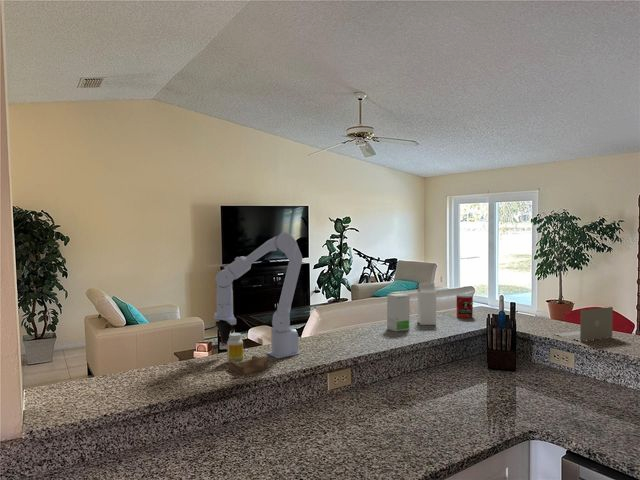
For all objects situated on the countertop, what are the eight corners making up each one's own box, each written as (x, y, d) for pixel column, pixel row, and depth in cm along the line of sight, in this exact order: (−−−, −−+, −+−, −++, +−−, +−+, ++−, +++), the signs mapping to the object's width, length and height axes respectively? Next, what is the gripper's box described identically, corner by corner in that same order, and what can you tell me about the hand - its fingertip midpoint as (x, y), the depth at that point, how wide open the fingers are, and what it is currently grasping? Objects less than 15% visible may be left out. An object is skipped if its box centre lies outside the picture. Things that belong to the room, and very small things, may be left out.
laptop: (584, 331, 195) (585, 301, 194) (612, 338, 183) (613, 307, 182) (553, 335, 188) (554, 304, 188) (580, 343, 176) (581, 310, 176)
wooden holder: (255, 363, 153) (254, 351, 153) (267, 369, 147) (266, 357, 147) (229, 368, 148) (229, 356, 148) (240, 375, 141) (240, 362, 141)
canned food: (457, 318, 221) (457, 296, 221) (455, 315, 229) (455, 293, 229) (473, 318, 220) (474, 296, 220) (471, 315, 228) (471, 293, 228)
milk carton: (436, 325, 207) (436, 284, 207) (420, 325, 208) (420, 284, 207) (432, 321, 215) (432, 281, 214) (417, 321, 215) (417, 282, 214)
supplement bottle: (224, 361, 155) (224, 333, 155) (238, 358, 159) (238, 331, 158) (232, 365, 151) (231, 336, 151) (246, 361, 155) (245, 334, 154)
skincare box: (395, 332, 195) (395, 296, 194) (385, 329, 201) (385, 294, 200) (410, 329, 199) (410, 294, 198) (400, 326, 205) (400, 292, 204)
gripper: (206, 301, 164) (206, 338, 165) (222, 307, 152) (223, 347, 153) (224, 299, 168) (224, 335, 169) (241, 305, 157) (242, 344, 157)
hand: (225, 341), depth 161 cm, fingers closed
